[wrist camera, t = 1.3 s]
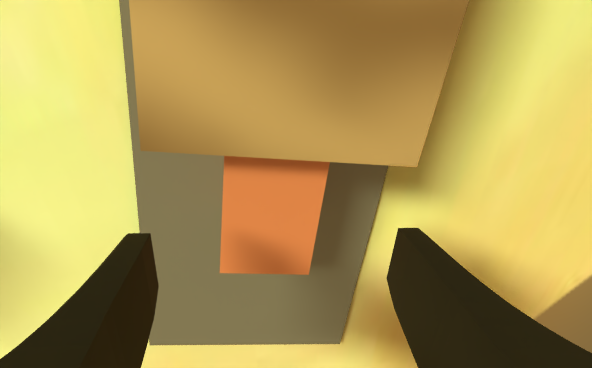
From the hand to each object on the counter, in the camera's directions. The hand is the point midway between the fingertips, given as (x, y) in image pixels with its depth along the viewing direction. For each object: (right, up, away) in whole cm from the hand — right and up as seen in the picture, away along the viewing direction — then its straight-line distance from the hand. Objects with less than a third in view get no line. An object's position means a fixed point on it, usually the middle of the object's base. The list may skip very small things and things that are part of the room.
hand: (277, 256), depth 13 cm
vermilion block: (-1, +5, +8) cm, 10 cm away
